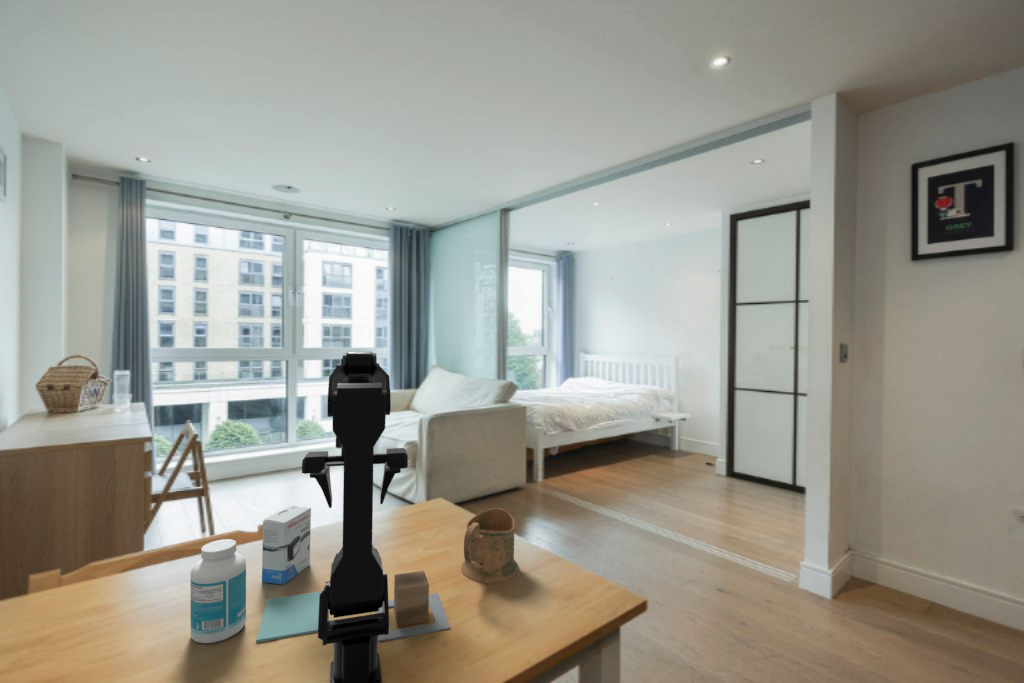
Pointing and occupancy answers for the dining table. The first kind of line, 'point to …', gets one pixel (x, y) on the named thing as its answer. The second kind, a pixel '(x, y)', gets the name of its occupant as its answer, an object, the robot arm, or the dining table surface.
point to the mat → (289, 617)
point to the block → (411, 598)
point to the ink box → (286, 544)
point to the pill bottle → (218, 592)
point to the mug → (490, 547)
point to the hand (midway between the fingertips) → (356, 505)
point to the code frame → (439, 625)
